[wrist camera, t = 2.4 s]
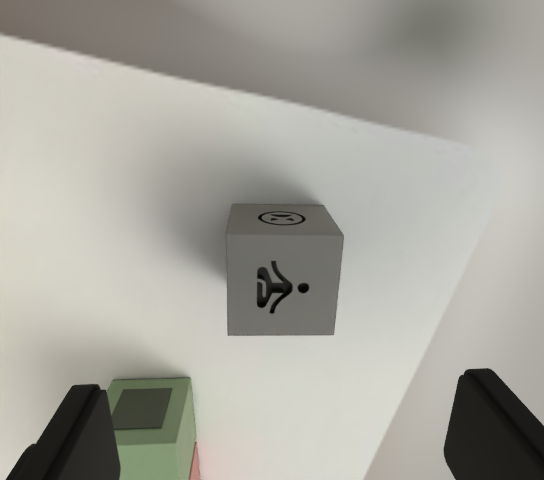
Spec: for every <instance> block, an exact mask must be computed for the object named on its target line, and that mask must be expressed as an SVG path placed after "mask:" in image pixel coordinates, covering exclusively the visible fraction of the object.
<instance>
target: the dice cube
mask: <svg viewBox="0 0 544 480" xmlns="http://www.w3.org/2000/svg"><path fill="white" fill-rule="evenodd" d="M343 240H344V235H343V234H342V232H341V231H340V229H339V228H338V226H337V225H336V223H335V222H334V220H333V219H332V217H331V216H330V214H329V213H328V211H327V210H326V208H325V207H324V205H280V204H232V208H231V213H230V218H229V223H228V228H227V233H226V259H227V326H228V336H257V335H334V329H335V319H336V309H337V299H338V289H339V280H340V270H341V260H342V250H343Z"/></svg>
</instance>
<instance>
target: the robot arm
mask: <svg viewBox="0 0 544 480" xmlns="http://www.w3.org/2000/svg"><path fill="white" fill-rule="evenodd" d="M444 457H445V460H446V463H447V465H448V467H449V468H450V470H451V472H452V474H453V476H454V477H455V479H456V480H544V426H543V425H542V423H541V422H540V421H539V420H538V419H537V418H536V417H535V416H534V415H533V414H532V413H531V412H530V410H529V409H528V408H527V407H526V406H525V405H524V404H523V403H522V402H521V401H520V400H519V399H518V397H517V396H516V395H515V394H514V393H513V392H512V391H511V390H510V389H509V388H508V386H507V385H506V384H505V383H504V382H503V381H502V380H501V379H500V378H499V377H498V376H497V374H496V373H495V372H494V371H492V370H491V369H488V368H486V369H468V370H466V371H465V372H464V375H461V376H460V377H459V380H458V384H457V389H456V394H455V398H454V403H453V407H452V412H451V417H450V421H449V426H448V431H447V435H446V440H445V445H444ZM120 472H121V466H120V460H119V454H118V449H117V444H116V438H115V433H114V428H113V422H112V417H111V412H110V406H109V401H108V396H107V392H106V390H100V387H99V385H98V384H87V385H74V386H72V387H71V388H70V390H69V391H68V393H67V395H66V396H65V398H64V399H63V401H62V403H61V404H60V406H59V407H58V409H57V411H56V412H55V414H54V416H53V417H52V419H51V420H50V422H49V424H48V425H47V427H46V428H45V430H44V432H43V433H42V435H41V436H40V438H39V440H38V441H37V443H36V444H32V445H30V446H29V447H28V448H27V449H26V450H25V451H24V452H23V454H22V455H21V457H20V458H19V460H18V461H17V463H16V465H15V466H14V468H13V469H12V471H11V472H10V474H9V475H8V477H7V479H6V480H119V478H120Z"/></svg>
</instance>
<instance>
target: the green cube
mask: <svg viewBox="0 0 544 480" xmlns="http://www.w3.org/2000/svg"><path fill="white" fill-rule="evenodd" d="M107 396H108V401H109V406H110V412H111V417H112V422H113V428H114V433H115V438H116V444H117V449H118V454H119V460H120V466H121V472H120V478H119V480H189V474H190V468H191V462H192V457H193V451H194V445H195V439H196V430H195V418H194V407H193V396H192V385H191V378H172V379H138V380H113V381H112V383H111V385H110V387H109V389H108V391H107Z"/></svg>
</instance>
